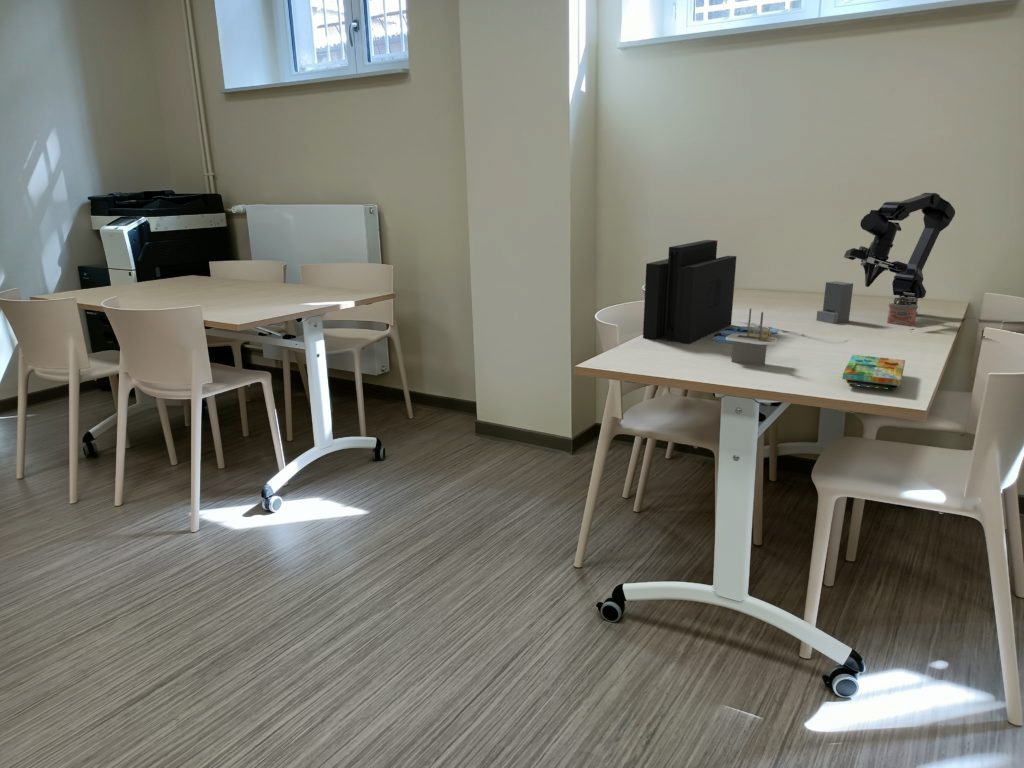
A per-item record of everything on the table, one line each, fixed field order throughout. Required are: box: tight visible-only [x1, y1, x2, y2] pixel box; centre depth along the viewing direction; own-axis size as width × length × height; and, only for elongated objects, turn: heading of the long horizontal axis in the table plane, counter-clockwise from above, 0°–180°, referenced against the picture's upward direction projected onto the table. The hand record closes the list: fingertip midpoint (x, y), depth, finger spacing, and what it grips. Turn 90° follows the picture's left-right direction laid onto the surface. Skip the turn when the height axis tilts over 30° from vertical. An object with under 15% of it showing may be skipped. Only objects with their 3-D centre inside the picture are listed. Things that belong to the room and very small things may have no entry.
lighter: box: [886, 296, 919, 331], centre depth 235 cm, size 8×3×10 cm, turn 62°
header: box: [815, 309, 839, 325], centre depth 240 cm, size 8×6×3 cm
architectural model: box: [726, 308, 777, 367], centre depth 192 cm, size 21×25×14 cm
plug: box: [822, 280, 854, 324], centre depth 239 cm, size 5×6×12 cm
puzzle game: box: [841, 354, 906, 390], centre depth 176 cm, size 12×5×20 cm
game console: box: [642, 239, 779, 345], centre depth 224 cm, size 35×30×27 cm
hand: (867, 286), depth 245 cm, fingers closed
